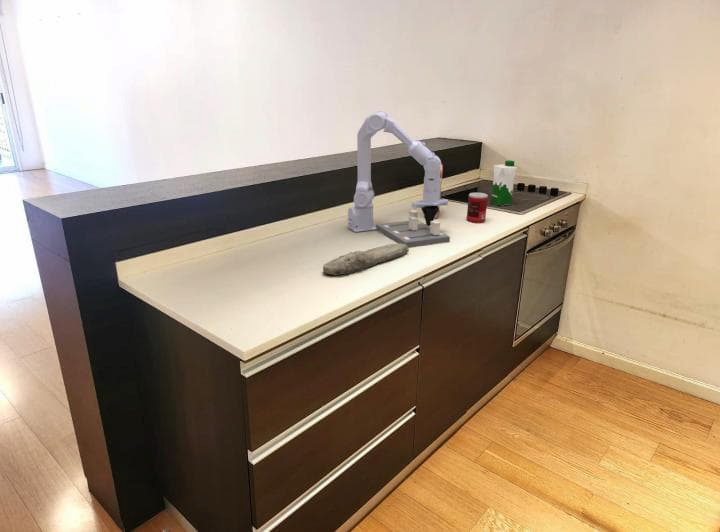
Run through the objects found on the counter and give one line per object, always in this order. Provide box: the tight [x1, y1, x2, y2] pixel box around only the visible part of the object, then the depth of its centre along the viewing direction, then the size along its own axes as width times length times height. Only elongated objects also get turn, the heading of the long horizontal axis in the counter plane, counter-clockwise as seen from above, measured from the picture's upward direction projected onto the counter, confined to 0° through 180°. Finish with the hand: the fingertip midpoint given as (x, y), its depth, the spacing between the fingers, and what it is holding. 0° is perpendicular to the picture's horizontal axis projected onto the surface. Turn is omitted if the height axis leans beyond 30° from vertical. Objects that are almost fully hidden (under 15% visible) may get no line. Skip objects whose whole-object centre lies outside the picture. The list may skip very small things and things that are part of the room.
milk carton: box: [490, 160, 518, 206], centre depth 229 cm, size 9×9×20 cm
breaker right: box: [430, 220, 441, 235], centre depth 179 cm, size 2×3×4 cm
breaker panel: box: [375, 220, 451, 249], centre depth 185 cm, size 18×24×2 cm
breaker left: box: [408, 209, 419, 218], centre depth 193 cm, size 2×3×4 cm
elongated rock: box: [322, 243, 410, 276], centre depth 158 cm, size 35×5×10 cm
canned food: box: [466, 192, 489, 224], centre depth 204 cm, size 8×8×11 cm
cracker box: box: [423, 163, 443, 220], centre depth 210 cm, size 14×6×21 cm, turn 168°
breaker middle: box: [408, 216, 419, 230], centre depth 184 cm, size 2×3×4 cm
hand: (428, 225), depth 187 cm, fingers closed
